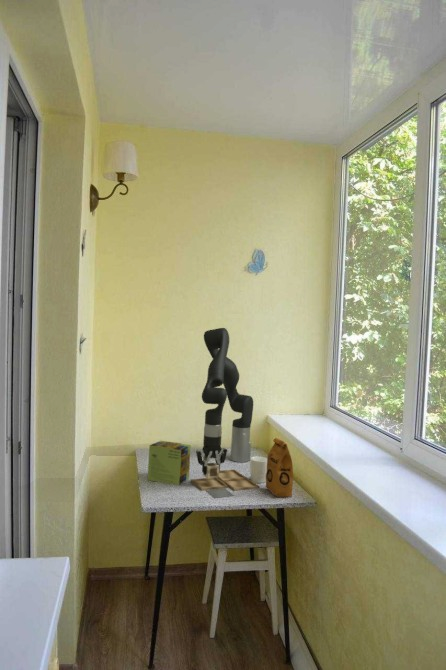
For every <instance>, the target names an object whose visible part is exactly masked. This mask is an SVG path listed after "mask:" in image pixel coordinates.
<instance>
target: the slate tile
mask: <svg viewBox="0 0 446 670" xmlns="http://www.w3.org/2000/svg"><path fill="white" fill-rule="evenodd" d="M204 492H206V493H207V494H208V495H210V496H211V497H212V498H213V499H222V498H230V497H235V494H233V493H232V492H230V491H229V490H228V488H223V489H214V490H204Z"/></svg>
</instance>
